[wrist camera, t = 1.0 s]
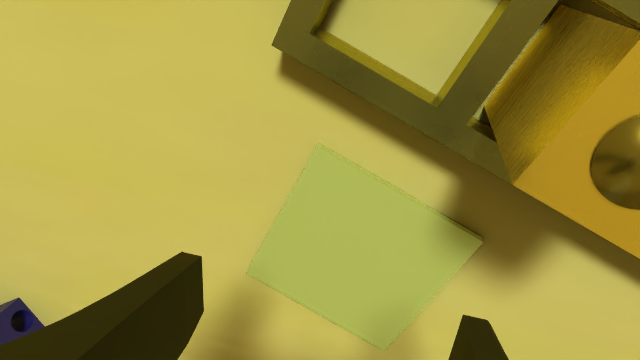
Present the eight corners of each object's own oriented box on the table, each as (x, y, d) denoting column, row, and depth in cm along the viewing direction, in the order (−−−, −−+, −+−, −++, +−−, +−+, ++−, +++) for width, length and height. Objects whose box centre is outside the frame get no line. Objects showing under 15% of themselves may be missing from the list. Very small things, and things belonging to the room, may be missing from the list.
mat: (482, 237, 21) (483, 242, 21) (384, 345, 26) (384, 351, 25) (318, 143, 21) (316, 146, 21) (248, 268, 25) (245, 273, 25)
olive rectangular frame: (911, 146, 16) (963, 167, 14) (714, 288, 20) (739, 317, 18) (379, -173, 15) (373, -188, 14) (284, 38, 19) (271, 45, 18)
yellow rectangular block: (663, 66, 17) (819, 135, 10) (575, 159, 19) (654, 269, 12) (560, 4, 16) (647, 33, 10) (483, 105, 19) (512, 186, 12)
